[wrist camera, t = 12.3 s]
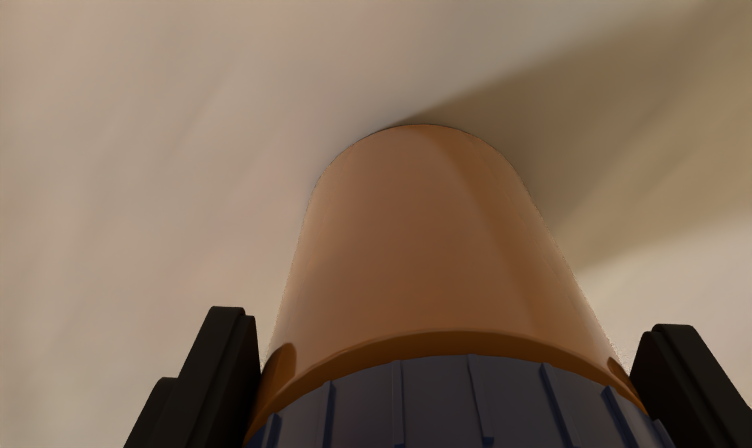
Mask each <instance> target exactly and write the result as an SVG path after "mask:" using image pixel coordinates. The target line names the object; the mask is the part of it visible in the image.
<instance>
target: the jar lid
mask: <svg viewBox="0 0 752 448" xmlns="http://www.w3.org/2000/svg"><path fill="white" fill-rule="evenodd" d="M244 448H677V447H676V446H675V444H674V442H673V440H672V439H671V437H670V435H669V433H668V431H667V430H666V428H665V426H664V424H663V423H662V422H661V421H660V420H659V419H657V420H655V421H653V420H652V419H651V418H650V417H649V416H647V415H646V414H645V413H644V412H642V411H641V410H640V409H639V408H638V407H636V406H635V405H634V404H633V403H632V402H630V401H629V400H627V399H625V398H624V397H622V396H620V395H619V394H618V393H617V391H616V389H615V388H614V387H612V386H610V385H607V386H606V387H605V386H604V385H601V384H599V383H597V382H595V381H592V380H590V379H588V378H585V377H583V376H581V375H578V374H576V373H574V372H570V371H567V370H564V369H560V368H557V367H553V366H551V364H550V363H546V362H542V363H539V362H533V361H527V360H522V359H516V358H511V357H502V356H488V355H477V354H465V355H437V356H427V357H420V358H413V359H406V360H395V361H392V362H390V363H386V364H382V365H378V366H374V367H370V368H366V369H362V370H360V371H357V372H354V373H351V374H349V375H346V376H343V377H341V378H338V379H335V380H333V381H331V380H329V381H327V382H324V383H323V385H322V386H320V387H318V388H316V389H314V390H312V391H311V392H309V393H307V394H305V395H303V396H301V397H300V398H298V399H297V400H295V401H294V402H292V403H291V404H289V405H288V406H286V407H285V408H284V409H282V410H281V411H279V412H278V413H277V414H276V413H274V412H273V413H272V414H271V415H269V417H268V421H267V423H266V424H264V425H263V426H262V427H261V428H260V429H259V430H258V431H257V432H256V433H255V434H254V435H253V437H252V438H251V439H250V440H249V442H248V443H247V444H246V445H245V447H244Z"/></svg>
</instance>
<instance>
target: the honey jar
mask: <svg viewBox="0 0 752 448" xmlns="http://www.w3.org/2000/svg"><path fill="white" fill-rule="evenodd" d="M465 354H477V355H488V356H502V357H511V358H516V359H522V360H527V361H533V362H539V363H542V362H546V363H550V364H551V366H553V367H557V368H560V369H564V370H567V371H570V372H574V373H576V374H578V375H581V376H583V377H585V378H588V379H590V380H592V381H595V382H597V383H599V384H601V385H604V386H605V387H606V386H607V385H610V386H612V387H614V388H615V389H616V391H617V393H618V394H619V395H620V396H622V397H624V398H625V399H627V400H629V401H630V402H632V403H633V404H634V405H635V406H636V407H638V408H639V409H640V410H641V411H642V412H644V413H645V414H646V415H647V416H649V417H650V415H649V413H648V411H647V410H646V408H645V406H644V404H643V402H642V400H641V399H640V397H639V395H638V393H637V391H636V389H635V388H634V386H633V384H632V382H631V380H630V378H629V377H628V375H627V373H626V371H625V369H624V367H623V366H622V364H621V362H620V360H619V358H618V356H617V355H616V353H615V351H614V349H613V347H612V345H611V344H610V342H609V340H608V338H607V336H606V334H605V333H604V331H603V329H602V327H601V325H600V323H599V322H598V320H597V318H596V316H595V314H594V312H593V311H592V309H591V307H590V305H589V303H588V301H587V300H586V298H585V296H584V294H583V292H582V290H581V289H580V287H579V285H578V283H577V281H576V279H575V278H574V276H573V274H572V272H571V270H570V268H569V267H568V265H567V263H566V261H565V259H564V257H563V256H562V254H561V252H560V250H559V248H558V246H557V245H556V243H555V241H554V239H553V237H552V235H551V234H550V232H549V230H548V228H547V226H546V224H545V223H544V221H543V219H542V217H541V215H540V213H539V212H538V210H537V208H536V206H535V204H534V202H533V201H532V199H531V197H530V195H529V193H528V191H527V190H526V188H525V186H524V184H523V182H522V181H521V179H520V177H519V175H518V174H517V172H516V170H515V169H514V168H513V167H512V165H511V164H510V163H509V162H508V161H507V159H506V158H505V157H503V156H502V155H501V154H500V153H499V152H498V151H497V150H496V149H494V148H493V147H492V146H490V145H489V144H487V143H486V142H484V141H483V140H481V139H479V138H477V137H475V136H473V135H471V134H469V133H466V132H463V131H460V130H457V129H454V128H449V127H444V126H439V125H426V124H419V125H405V126H399V127H394V128H389V129H386V130H383V131H380V132H377V133H374V134H372V135H370V136H368V137H366V138H363V139H361V140H360V141H358V142H356V143H355V144H353V145H352V146H350V147H349V148H347V149H346V150H345V151H344V152H342V153H341V154H340V155H339V156H338V157H336V159H335V160H334V161H333V162H332V163H331V164H330V165H329V166H328V167H327V168H326V170H325V171H324V173H323V174H322V176H321V177H320V179H319V180H318V182H317V184H316V186H315V188H314V190H313V192H312V195H311V198H310V201H309V204H308V207H307V211H306V215H305V218H304V222H303V225H302V229H301V233H300V236H299V240H298V243H297V247H296V251H295V254H294V258H293V261H292V265H291V269H290V272H289V276H288V279H287V283H286V287H285V290H284V294H283V297H282V301H281V305H280V308H279V312H278V315H277V319H276V323H275V326H274V330H273V333H272V337H271V341H270V344H269V348H268V351H267V355H266V359H265V362H264V366H263V369H262V373H261V377H260V380H259V384H258V387H257V391H256V395H255V398H254V402H253V405H252V409H251V413H250V416H249V420H248V423H247V427H246V431H245V434H244V438H243V441H242V445H241V448H244V447H245V445H246V444H247V443H248V442H249V440H250V439H251V438H252V437H253V435H254V434H255V433H256V432H257V431H258V430H259V429H260V428H261V427H262V426H263V425H264V424H266V423H267V421H268V417H269V415H271V414H272V413H273V412H274V413H276V414H277V413H278V412H279V411H281V410H282V409H284V408H285V407H286V406H288V405H289V404H291V403H292V402H294V401H295V400H297V399H298V398H300V397H301V396H303V395H305V394H307V393H309V392H311V391H312V390H314V389H316V388H318V387H320V386H322V385H323V383H324V382H327V381H329V380H331V381H333V380H335V379H338V378H341V377H343V376H346V375H349V374H351V373H354V372H357V371H360V370H362V369H366V368H370V367H374V366H378V365H382V364H386V363H390V362H392V361H395V360H406V359H413V358H420V357H427V356H437V355H465ZM650 418H651V417H650Z"/></svg>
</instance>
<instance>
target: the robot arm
mask: <svg viewBox="0 0 752 448" xmlns="http://www.w3.org/2000/svg"><path fill="white" fill-rule="evenodd" d="M260 377H261V370H260V360H259V350H258V340H257V331H256V322H255V317H254V316H247V315H246V314H245V310H244V308H242V307H220V306H213V307H211V308H210V310H209V312H208V314H207V316H206V318H205V320H204V322H203V324H202V327H201V329H200V331H199V333H198V335H197V337H196V339H195V342H194V344H193V346H192V348H191V350H190V352H189V354H188V357H187V359H186V361H185V363H184V365H183V367H182V369H181V372H180V374H179V376H178V378H169V377H162V378H161V379H160V380H158V382H157V383H156V385H155V386H154V388H153V390H152V392H151V394H150V396H149V398H148V400H147V402H146V404H145V406H144V408H143V410H142V411H141V413H140V415H139V417H138V419H137V421H136V423H135V425H134V427H133V429H132V431H131V433H130V435H129V437H128V439H127V441H126V443H125V445H124V447H123V448H241V445H242V441H243V438H244V434H245V431H246V427H247V423H248V420H249V416H250V413H251V409H252V405H253V402H254V398H255V395H256V391H257V387H258V384H259V380H260ZM629 378H630V380H631V382H632V384H633V386H634V388H635V389H636V391H637V393H638V395H639V397H640V399H641V400H642V402H643V404H644V406H645V408H646V410H647V411H648V413H649V415H650V417H651V419H652V420H653V421H655V420H657V419H659V420H660V421H661V422H662V423H663V424H664V426H665V428H666V430H667V431H668V433H669V435H670V437H671V439H672V440H673V442H674V444H675V446H676V447H677V448H752V410H751V408H750V407H749V406H748V405H747V404H746V403H745V401H744V400H743V398H742V397H741V395H740V394H739V392H738V391H737V389H736V388H735V387H734V385H733V384H732V382H731V381H730V379H729V378H728V376H727V375H726V373H725V372H724V370H723V369H722V367H721V366H720V365H719V363H718V362H717V360H716V359H715V357H714V356H713V354H712V353H711V351H710V350H709V348H708V347H707V345H706V344H705V343H704V341H703V340H702V338H701V337H700V335H699V334H698V332H697V331H696V330H695V329H694V327H693V326H690V325H679V324H656V325H655V326H654V327H653V328H652V330H651V331H646V332H644V333H643V335H642V337H641V340H640V343H639V346H638V350H637V353H636V356H635V359H634V363H633V366H632V369H631V372H630V376H629Z"/></svg>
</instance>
